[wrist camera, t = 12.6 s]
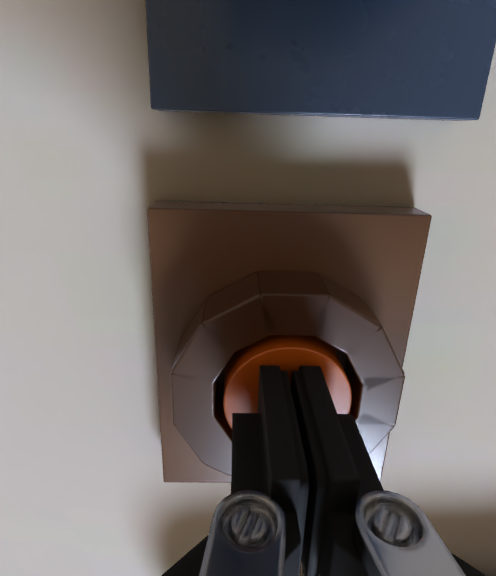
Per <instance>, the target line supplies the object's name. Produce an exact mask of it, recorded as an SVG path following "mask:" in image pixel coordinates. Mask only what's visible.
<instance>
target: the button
mask: <svg viewBox="0 0 496 576" xmlns="http://www.w3.org/2000/svg"><path fill="white" fill-rule="evenodd" d="M260 365H279V366H280V370H281V371H287V372H288V377H289V382H290V387H291V378H292V371H299V367H300V366H320V367H321V369H322V372H323V375H324V378H325V381H326V383H327V386H328V389H329V392H330V395H331V398H332V400H333V403H334V406H335V409H336V412H337V414H349V412H350V408H351V402H352V393H351V387H350V383H349V381H348V378H347V376H346V374H345V371H344V369H343V367H342V365H341V362H340V360H339V358H338V355H337V353H336V351H335V349H334V347H333V346H331V345H329V344H328V343H326V342H324V341H322V340H320V339H319V338H317V337H315V336H303V335H269V336H267V337H265V338H263V339H261V340H259V341H257V342H255V343H253V344H251V345H249V346H247V347H245V348H243V349H240V350H238V351H236V352H235V353H234V355H233V356H232V357H231V359H230V360H229V362H228V363H227V365H226V366H225V377H224V396H223V407H224V413H225V417H226V419H227V422H228V424H229V425H230V427H231V429H232V413H257V410H258V388H259V368H260Z"/></svg>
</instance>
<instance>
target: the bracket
mask: <svg viewBox="0 0 496 576" xmlns="http://www.w3.org/2000/svg"><path fill="white" fill-rule="evenodd" d="M145 1H146V20H147V40H148V59H149V78H150V97H151V108H152V109H154V110H158V111H174V112H205V113H236V114H267V115H297V116H328V117H359V118H390V119H420V120H451V121H461V120H478V119H479V117H480V112H481V108H482V103H483V98H484V94H485V89H486V85H487V80H488V75H489V71H490V66H491V62H492V57H493V52H494V48H495V43H496V0H145Z"/></svg>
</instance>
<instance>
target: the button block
mask: <svg viewBox="0 0 496 576" xmlns="http://www.w3.org/2000/svg"><path fill="white" fill-rule="evenodd" d="M147 212H148V229H149V245H150V262H151V279H152V295H153V312H154V328H155V345H156V362H157V378H158V395H159V411H160V428H161V445H162V461H163V478H164V482H231V466H232V429H231V427H230V425H229V424H228V422H227V419H226V417H225V413H224V407H223V396H224V377H225V366H226V365H227V363H228V362H229V360H230V359H231V357H232V356H233V355H234V353H235V352H236V351H238V350H240V349H243V348H245V347H247V346H249V345H251V344H253V343H255V342H257V341H259V340H261V339H263V338H265V337H267V336H269V335H303V336H315V337H317V338H319V339H320V340H322V341H324V342H326V343H328V344H329V345H331V346H333V347H334V349H335V351H336V353H337V355H338V358H339V360H340V362H341V365H342V367H343V369H344V371H345V374H346V376H347V378H348V381H349V383H350V387H351V393H352V402H351V408H350V412H349V414H351V415H353V417H354V419H355V422H356V424H357V426H358V429H359V431H360V434H361V436H362V439H363V441H364V444H365V446H366V449H367V451H368V453H369V456H370V458H371V461H372V463H373V466H374V468H375V471H376V473H377V476H378V478H379V481H380V480H381V475H382V470H383V465H384V460H385V454H386V449H387V444H388V439H389V434H390V431H391V430H392V429H393V428H394V425H395V424H396V419H397V414H398V409H399V404H400V399H401V394H402V389H403V384H404V379H405V375H404V371H403V369H402V367H403V362H404V356H405V351H406V346H407V341H408V336H409V331H410V325H411V320H412V315H413V310H414V305H415V300H416V294H417V289H418V284H419V279H420V274H421V269H422V263H423V258H424V253H425V248H426V243H427V238H428V232H429V227H430V222H431V215H430V214H427V213H425V212H423V211H421V210H419V209H416V208H410V207H371V206H331V205H292V204H253V203H213V202H174V201H155V202H154V203H153V204H152V205H151V206H150V207H149V208H148V209H147Z"/></svg>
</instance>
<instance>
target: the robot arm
mask: <svg viewBox="0 0 496 576" xmlns="http://www.w3.org/2000/svg"><path fill="white" fill-rule="evenodd" d="M301 561H302V567H303V574H304V576H486V575H484V574H483V573H481V572H480V571H478V570H477V569H475V568H474V567H472V566H471V565H469V564H467V563H466V562H464V561H463V560H461V559H460V558H458V557H457V556H455V555H454V554H452V553H451V552H450V551H449V550H448V548H447V546H446V545H445V543H444V542H443V540H442V539H441V537H440V536H439V534H438V533H437V531H436V530H435V528H434V527H433V525H432V524H431V522H430V521H429V519H428V518H427V516H426V515H425V514H424V512H423V511H422V510H421V509H420V508H419V506H417V505H416V504H415V503H413V502H412V501H411V500H410V499H408V498H406V497H404V496H402V495H400V494H398V493H394V492H390V491H384V490H383V488H382V485H381V483H380V481H379V478H378V476H377V473H376V471H375V468H374V466H373V463H372V461H371V458H370V456H369V453H368V451H367V449H366V446H365V444H364V441H363V439H362V436H361V434H360V431H359V429H358V426H357V424H356V422H355V419H354V417H353V415H351V414H337V412H336V409H335V406H334V403H333V400H332V398H331V395H330V392H329V389H328V386H327V383H326V381H325V378H324V375H323V372H322V369H321V367H320V366H300V367H299V371H292V378H291V387H290V382H289V377H288V372H287V371H281V370H280V366H279V365H260V368H259V388H258V410H257V413H232V466H231V495H229V496H227V497H226V498H224V499H223V500H222V501H221V502H220V503H219V505H218V506H217V507H216V510H215V512H214V515H213V518H212V522H211V527H210V531H209V535H208V536H207V537H205V538H204V539H203V540H202V541H201V542H200V543H199V544H197V545H196V546H195V547H194V548H193V549H192V550H190V551H189V552H188V553H187V554H186V555H185V556H184V557H182V558H181V559H180V560H179V561H178V562H177V563H175V564H174V565H173V566H172V567H171V568H170V569H169V570H167V571H166V572H165V573H164V574H163V575H162V576H299V574H300V564H301Z"/></svg>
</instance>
